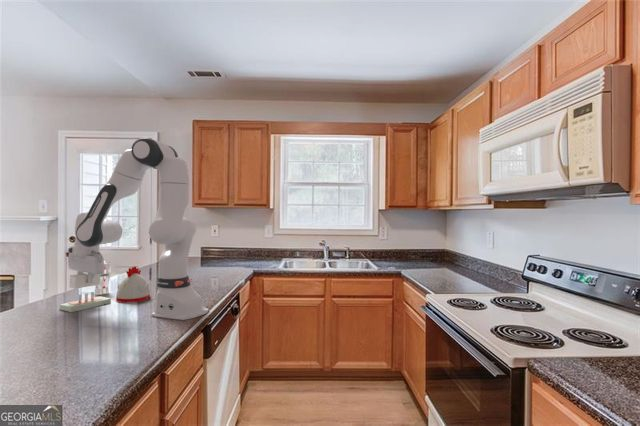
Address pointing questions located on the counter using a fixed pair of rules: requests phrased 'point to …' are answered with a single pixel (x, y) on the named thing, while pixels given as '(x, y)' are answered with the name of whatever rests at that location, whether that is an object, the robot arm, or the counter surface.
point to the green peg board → (85, 303)
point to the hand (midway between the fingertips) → (85, 282)
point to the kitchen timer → (133, 287)
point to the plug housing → (84, 280)
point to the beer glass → (104, 281)
